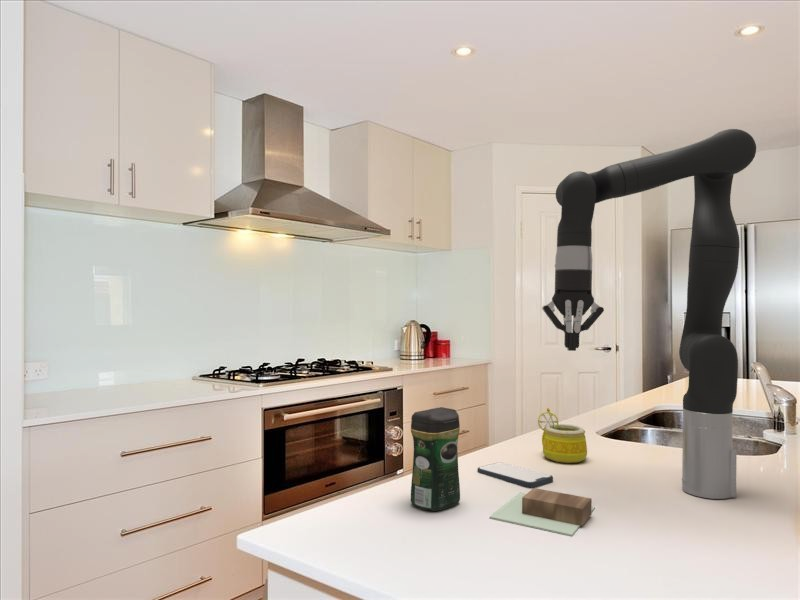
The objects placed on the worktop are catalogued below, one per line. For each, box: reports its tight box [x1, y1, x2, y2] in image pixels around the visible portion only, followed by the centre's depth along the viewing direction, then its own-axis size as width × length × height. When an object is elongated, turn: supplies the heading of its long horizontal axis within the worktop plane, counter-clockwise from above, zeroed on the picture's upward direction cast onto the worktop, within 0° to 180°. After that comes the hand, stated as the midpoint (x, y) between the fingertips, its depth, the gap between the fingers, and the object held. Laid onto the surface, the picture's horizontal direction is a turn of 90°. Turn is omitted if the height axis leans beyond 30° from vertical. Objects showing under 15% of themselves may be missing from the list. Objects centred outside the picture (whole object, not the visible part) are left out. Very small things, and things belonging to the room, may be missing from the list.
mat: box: [489, 492, 596, 537], centre depth 109 cm, size 15×16×1 cm
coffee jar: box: [410, 406, 461, 512], centre depth 114 cm, size 10×8×19 cm
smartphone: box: [477, 462, 554, 489], centre depth 132 cm, size 9×2×16 cm
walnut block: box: [522, 487, 593, 527], centre depth 108 cm, size 3×6×11 cm
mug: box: [537, 407, 588, 464], centre depth 148 cm, size 13×11×12 cm
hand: (571, 350), depth 123 cm, fingers closed
